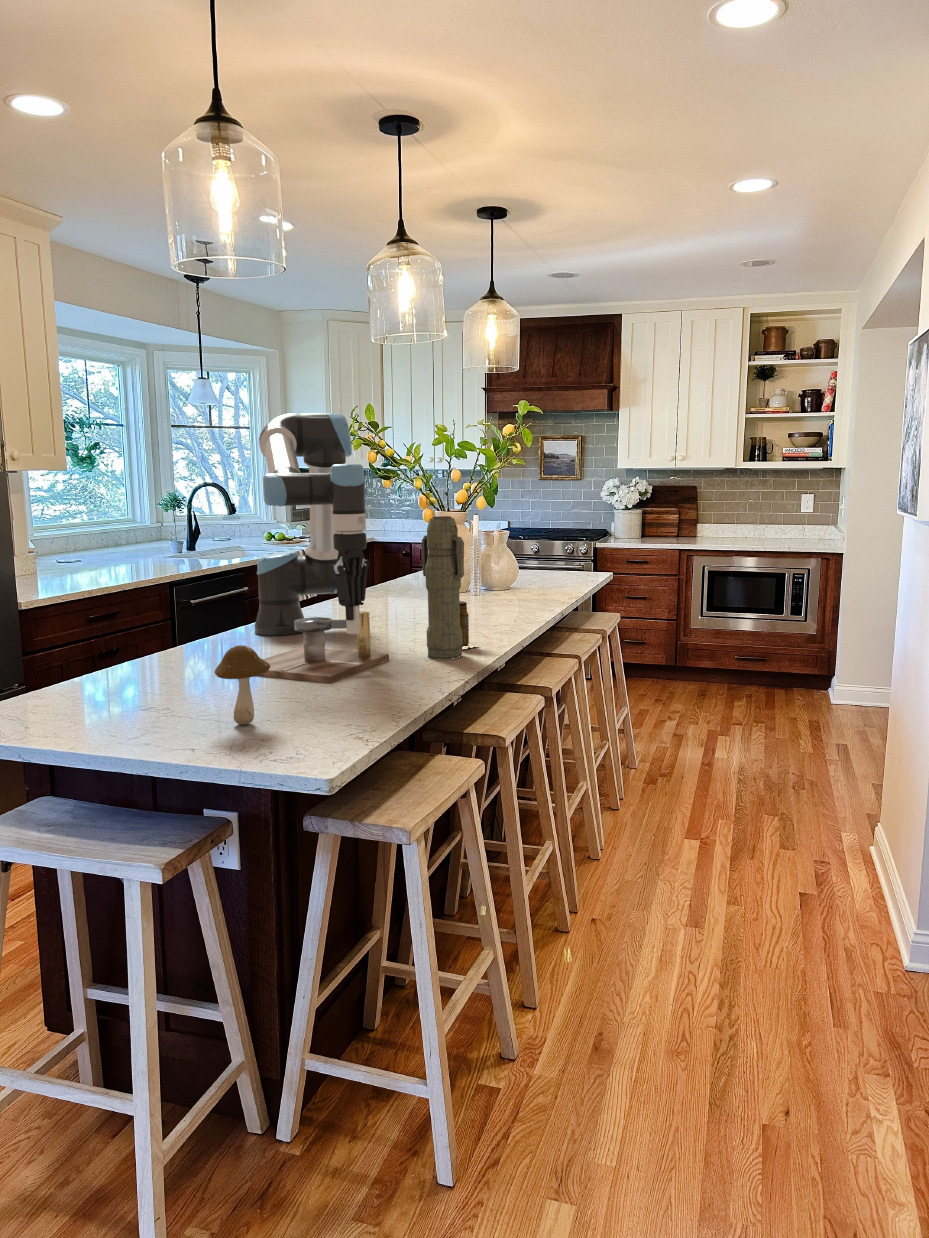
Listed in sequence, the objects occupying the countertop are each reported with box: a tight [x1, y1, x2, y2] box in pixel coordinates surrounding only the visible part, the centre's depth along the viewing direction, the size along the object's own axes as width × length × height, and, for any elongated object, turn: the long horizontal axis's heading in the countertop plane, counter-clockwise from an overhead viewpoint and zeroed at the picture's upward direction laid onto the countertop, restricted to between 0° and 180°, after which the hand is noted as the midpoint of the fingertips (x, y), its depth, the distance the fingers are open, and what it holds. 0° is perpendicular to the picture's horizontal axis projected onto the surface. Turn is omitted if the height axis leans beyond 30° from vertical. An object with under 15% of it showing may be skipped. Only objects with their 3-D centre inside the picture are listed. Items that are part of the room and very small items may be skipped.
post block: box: [261, 631, 390, 684], centre depth 213 cm, size 26×26×9 cm
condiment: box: [460, 600, 470, 647], centre depth 234 cm, size 7×8×12 cm
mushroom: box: [214, 645, 270, 726], centre depth 165 cm, size 9×11×15 cm
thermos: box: [421, 515, 465, 660], centre depth 220 cm, size 9×12×35 cm
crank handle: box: [294, 611, 372, 659], centre depth 213 cm, size 10×18×11 cm, turn 90°
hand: (353, 633), depth 207 cm, fingers closed
